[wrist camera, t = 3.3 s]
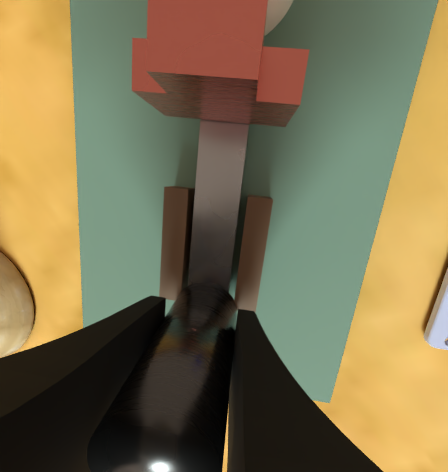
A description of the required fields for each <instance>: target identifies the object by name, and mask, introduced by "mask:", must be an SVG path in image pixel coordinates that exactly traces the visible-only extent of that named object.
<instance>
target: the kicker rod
mask: <svg viewBox="0 0 448 472" xmlns="http://www.w3.org/2000/svg"><path fill="white" fill-rule="evenodd" d="M267 5H268V0H148V9H147V39H145V38H132V91H133V92H134V93H136V94H137V95H138V96H140V97H141V98H142V99H144V100H145V101H146V102H148V103H149V104H150V105H151V106H153V107H154V108H155V109H157V110H158V111H159V112H161V113H162V114H163V115H165V116H170V117H181V118H192V119H200V132H199V145H198V158H197V171H196V184H195V197H194V210H193V224H192V237H191V250H190V263H189V276H188V286H187V287H185V288H184V289H183V290H182V291H181V292H180V294H179V295H178V297H177V298H176V300H175V302H174V303H173V305H172V307H171V308H170V310H169V311H168V313H167V315H166V316H165V318H164V320H163V321H162V323H161V324H160V326H159V328H158V329H157V331H156V332H155V334H154V336H153V337H152V339H151V341H150V342H149V344H148V345H147V347H146V349H145V350H144V352H143V353H142V355H141V357H140V358H139V360H138V362H137V363H136V365H135V366H134V368H133V370H132V371H131V373H130V375H129V376H128V378H127V379H126V381H125V383H124V384H123V386H122V387H121V389H120V391H119V392H118V394H117V396H116V397H115V399H114V400H113V402H112V404H111V405H110V407H109V409H108V410H107V412H106V413H105V415H104V417H103V418H102V420H101V421H100V423H99V425H98V426H97V428H96V430H95V431H94V433H93V434H92V436H91V438H90V440H89V443H88V447H87V462H88V466H89V469H90V472H222V465H223V455H224V444H225V434H226V424H227V413H228V403H229V392H230V382H231V371H232V361H233V347H234V337H235V328H236V319H237V307H236V303H235V301H234V299H233V297H232V296H231V294H230V293H229V289H230V281H231V273H232V265H233V256H234V248H235V240H236V232H237V224H238V216H239V208H240V200H241V192H242V184H243V175H244V167H245V159H246V151H247V143H248V135H249V127H250V124H257V125H267V126H278V127H286V125H287V124H288V122H289V121H290V119H291V118H292V116H293V115H294V113H295V112H296V110H297V109H298V107H299V106H300V103H301V97H302V91H303V85H304V79H305V73H306V67H307V61H308V55H309V49H294V48H279V47H264V46H263V44H264V35H265V25H266V15H267Z"/></svg>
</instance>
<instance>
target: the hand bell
mask: <svg viewBox="0 0 448 472" xmlns="http://www.w3.org/2000/svg"><path fill="white" fill-rule="evenodd" d="M33 320H34V308H33V301H32V297H31V294H30V291H29V288H28V286H27V284H26V283H25V280H24V279H23V277H22V276H21V274H20V272H19V271H18V270H17V268H16V267H15V266H14V264H13V263H12V262H11V261H10V260H9V259H8V258H7V257H6V256H5V255H4V254H2V253H1V252H0V357H4V356H7V355H9V354H11V353H13V352H15V351H17V350H18V349H19V348H20V347H21V346H22V345H23V344H24V343H25V341H26V340H27V339H28V337H29V335H30V333H31V330H32V327H33Z"/></svg>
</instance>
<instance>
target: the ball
mask: <svg viewBox="0 0 448 472" xmlns="http://www.w3.org/2000/svg"><path fill="white" fill-rule="evenodd" d="M293 1H294V0H268V5H267V15H266V25H265V35H264V36H266V35H267V34H268V33H269V32H270V31H272V30H273V29H274V28H275V27H276V26H277V24H278V23H279V22H280V21H281V20H282V19H283V17H284V16H285V15H286V13H287V11H288V10H289V8H290V6H291V4H292V3H293Z"/></svg>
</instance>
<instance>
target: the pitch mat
mask: <svg viewBox="0 0 448 472" xmlns="http://www.w3.org/2000/svg"><path fill="white" fill-rule="evenodd" d="M437 3H438V0H294V1H293V3H292V4H291V6H290V8H289V10H288V11H287V13H286V15H285V16H284V17H283V19H282V20H281V21H280V22H279V23H278V24H277V26H276V27H275V28H274V29H273V30H272V31H270V32H269V33H268V34H267V35H266V36H264V44H263V46H264V47H279V48H294V49H309V55H308V61H307V67H306V73H305V79H304V85H303V91H302V97H301V103H300V106H299V107H298V109H297V110H296V112H295V113H294V115H293V116H292V118H291V119H290V121H289V122H288V124H287V125H286V127H278V126H267V125H257V124H250V127H249V135H248V143H247V151H246V159H245V167H244V175H243V184H242V192H241V200H240V208H239V216H238V224H237V232H236V240H235V248H234V256H233V265H232V273H231V281H230V289H229V293H230V294H231V296H232V297H233V299H234V298H235V291H236V283H237V275H238V268H239V260H240V252H241V245H242V237H243V229H244V222H245V214H246V206H247V199H248V194H249V195H257V196H266V197H271V198H272V199H273V205H272V211H271V217H270V224H269V230H268V237H267V243H266V249H265V256H264V262H263V268H262V275H261V281H260V288H259V294H258V300H257V307H256V315H257V317H258V319H259V322H260V324H261V326H262V328H263V330H264V331H265V333H266V335H267V337H268V339H269V341H270V342H271V344H272V346H273V347H274V349H275V351H276V352H277V354H278V355H279V357H280V358H281V360H282V361H283V363H284V364H285V366H286V367H287V369H288V370H289V372H290V373H291V374H292V376H293V377H294V378H295V380H296V381H297V382H298V384H299V385H300V386H301V387H302V389H303V390H304V391H305V392H306V394H307V395H308V396H309V397H310V398H311V400H315V401H321V402H326V403H330V400H331V397H332V393H333V389H334V386H335V382H336V378H337V374H338V371H339V367H340V363H341V360H342V356H343V352H344V348H345V345H346V341H347V337H348V334H349V330H350V326H351V322H352V319H353V315H354V311H355V308H356V304H357V300H358V296H359V293H360V289H361V285H362V282H363V278H364V274H365V270H366V267H367V263H368V259H369V256H370V252H371V248H372V244H373V241H374V237H375V233H376V230H377V226H378V222H379V218H380V215H381V211H382V207H383V204H384V200H385V196H386V192H387V189H388V185H389V181H390V178H391V174H392V170H393V166H394V163H395V159H396V155H397V152H398V148H399V144H400V140H401V137H402V133H403V129H404V126H405V122H406V118H407V114H408V111H409V107H410V103H411V100H412V96H413V92H414V88H415V85H416V81H417V77H418V74H419V70H420V66H421V62H422V59H423V55H424V51H425V48H426V44H427V40H428V36H429V33H430V29H431V25H432V21H433V18H434V14H435V10H436V7H437ZM147 9H148V0H70V16H71V40H72V64H73V89H74V113H75V137H76V162H77V186H78V211H79V235H80V259H81V284H82V308H83V328H85V327H87V326H89V325H91V324H93V323H96V322H98V321H100V320H102V319H104V318H107V317H109V316H111V315H113V314H115V313H117V312H118V311H120V310H122V309H124V308H126V307H128V306H130V305H132V304H134V303H136V302H138V301H140V300H142V299H144V298H146V297H149V296H158V297H159V289H160V267H161V245H162V223H163V201H164V187H168V186H180V187H188V188H195V184H196V171H197V158H198V145H199V132H200V119H192V118H181V117H170V116H165V115H163V114H162V113H161V112H159V111H158V110H157V109H155V108H154V107H153V106H151V105H150V104H149V103H148V102H146V101H145V100H144V99H142V98H141V97H140V96H138V95H137V94H136V93H134V92H133V91H132V38H145V39H147ZM174 302H175V301H174V300H168V299H166V308H165V316H166V315H167V313H168V311H169V310H170V308H171V307H172V305H173V303H174ZM237 313H238V310H237ZM236 321H237V319H236Z"/></svg>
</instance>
